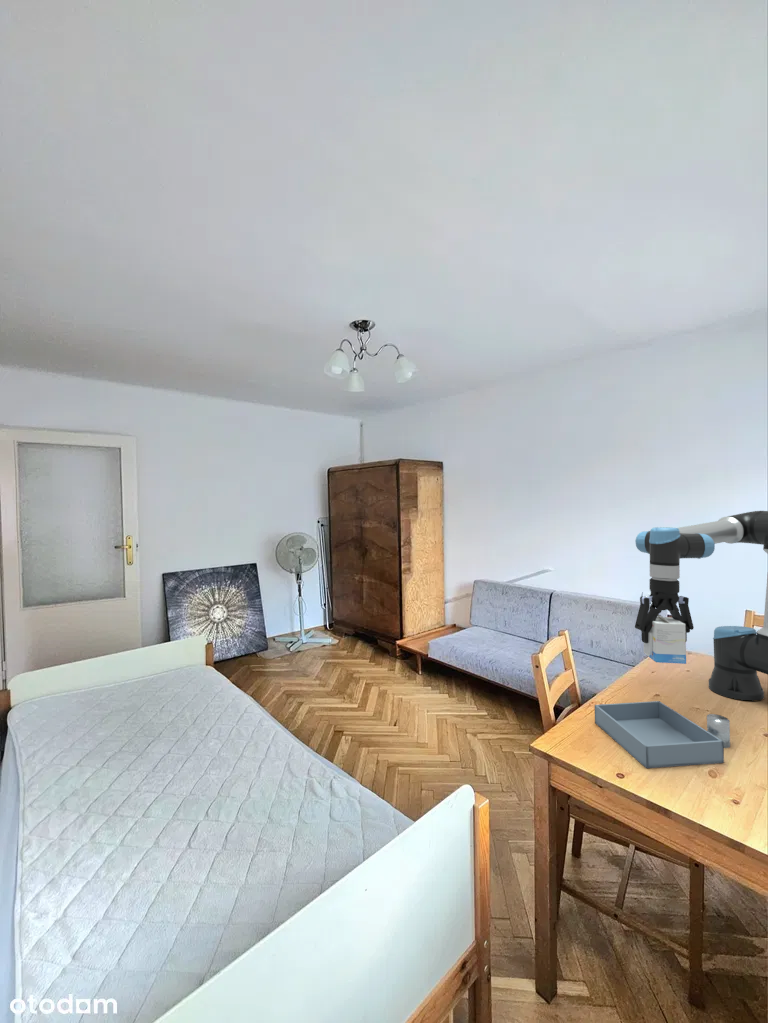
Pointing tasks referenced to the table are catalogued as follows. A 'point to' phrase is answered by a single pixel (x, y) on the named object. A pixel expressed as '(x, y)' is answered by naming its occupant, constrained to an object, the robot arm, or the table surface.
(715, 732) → the tin
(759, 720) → the table surface
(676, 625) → the ink box
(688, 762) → the tote
